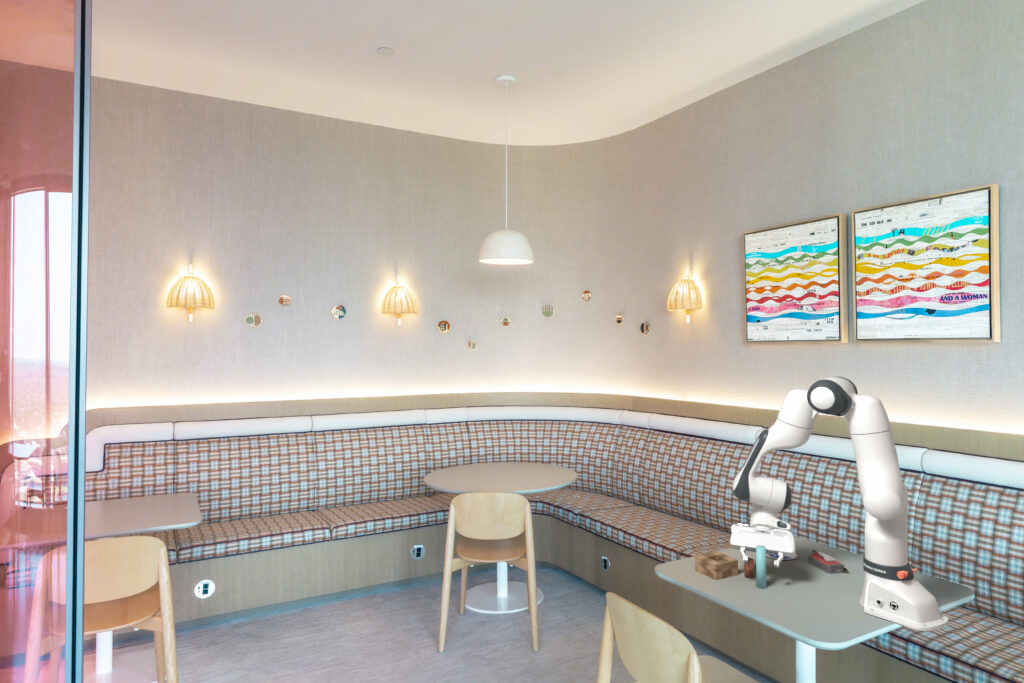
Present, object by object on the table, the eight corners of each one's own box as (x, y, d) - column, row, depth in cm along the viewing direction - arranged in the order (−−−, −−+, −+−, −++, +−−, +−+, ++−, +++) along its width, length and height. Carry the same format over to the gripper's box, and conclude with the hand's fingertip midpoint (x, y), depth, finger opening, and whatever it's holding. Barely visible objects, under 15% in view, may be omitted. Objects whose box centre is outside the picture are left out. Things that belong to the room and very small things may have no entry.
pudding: (792, 563, 220) (792, 549, 220) (758, 557, 227) (758, 543, 227) (800, 554, 230) (800, 540, 230) (767, 548, 237) (767, 534, 237)
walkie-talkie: (853, 574, 210) (815, 554, 230) (853, 561, 210) (815, 542, 230) (830, 576, 209) (794, 555, 228) (830, 563, 208) (794, 544, 228)
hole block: (738, 574, 210) (737, 560, 210) (715, 580, 206) (715, 565, 206) (716, 565, 219) (716, 551, 219) (695, 570, 215) (695, 555, 215)
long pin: (768, 587, 199) (767, 547, 199) (761, 589, 198) (761, 549, 198) (761, 584, 202) (760, 545, 202) (754, 585, 201) (753, 546, 200)
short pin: (755, 577, 208) (755, 559, 208) (749, 579, 206) (749, 561, 206) (748, 574, 210) (748, 557, 210) (742, 575, 209) (742, 558, 209)
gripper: (730, 517, 211) (726, 554, 202) (795, 525, 201) (794, 564, 193) (732, 526, 215) (728, 563, 206) (797, 534, 205) (795, 574, 196)
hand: (760, 564), depth 199 cm, fingers open, 8 cm apart
